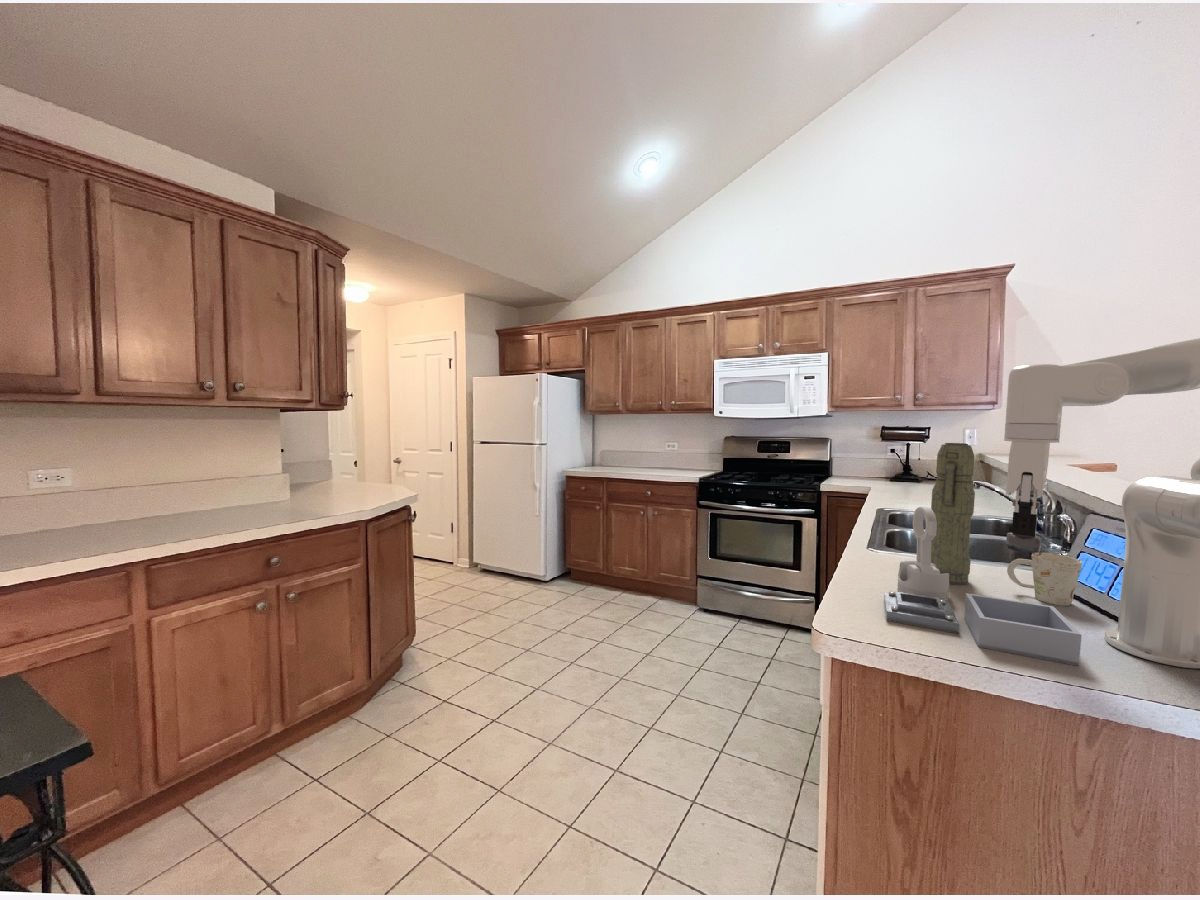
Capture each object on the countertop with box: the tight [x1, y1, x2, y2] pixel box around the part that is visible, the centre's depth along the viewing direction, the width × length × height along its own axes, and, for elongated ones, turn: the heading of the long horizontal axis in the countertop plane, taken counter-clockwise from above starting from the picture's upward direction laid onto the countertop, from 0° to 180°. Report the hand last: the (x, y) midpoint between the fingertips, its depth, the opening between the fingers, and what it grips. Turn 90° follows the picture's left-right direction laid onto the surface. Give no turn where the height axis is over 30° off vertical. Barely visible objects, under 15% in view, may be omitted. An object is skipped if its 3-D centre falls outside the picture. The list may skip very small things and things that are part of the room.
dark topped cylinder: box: [1005, 498, 1042, 554], centre depth 89 cm, size 5×5×9 cm
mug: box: [1006, 552, 1083, 607], centre depth 111 cm, size 8×13×10 cm, turn 41°
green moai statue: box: [930, 442, 976, 586], centre depth 123 cm, size 9×12×35 cm
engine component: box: [896, 506, 950, 602], centre depth 113 cm, size 11×20×10 cm
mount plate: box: [883, 590, 960, 634], centre depth 101 cm, size 12×12×3 cm
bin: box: [963, 592, 1082, 667], centre depth 90 cm, size 14×14×6 cm
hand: (1023, 532), depth 89 cm, fingers closed on dark topped cylinder, 3 cm apart
